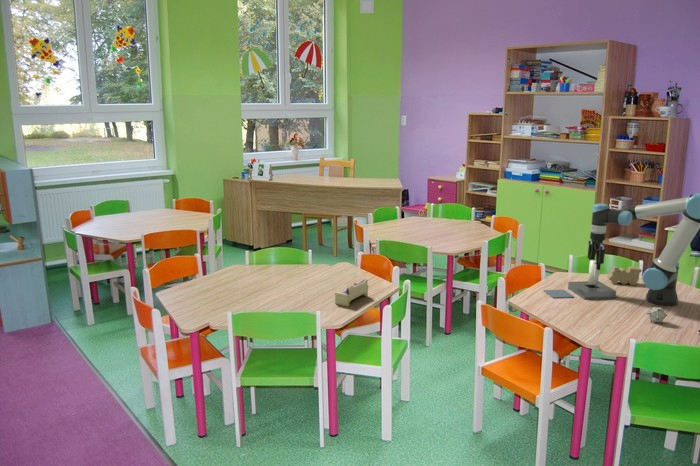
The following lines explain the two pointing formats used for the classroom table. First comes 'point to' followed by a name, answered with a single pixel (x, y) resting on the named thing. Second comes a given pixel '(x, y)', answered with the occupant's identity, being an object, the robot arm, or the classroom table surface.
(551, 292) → the mat
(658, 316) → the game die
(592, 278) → the end plug
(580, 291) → the housing
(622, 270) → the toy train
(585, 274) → the classroom table surface
